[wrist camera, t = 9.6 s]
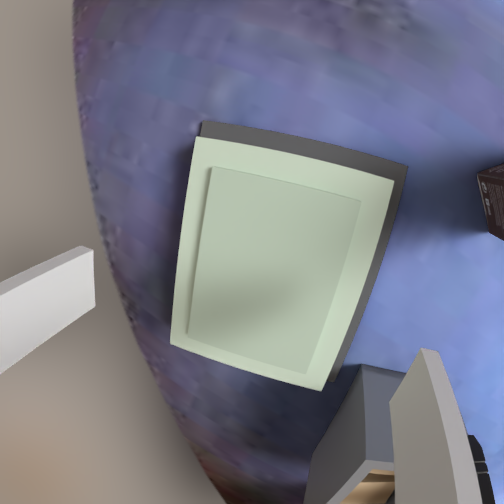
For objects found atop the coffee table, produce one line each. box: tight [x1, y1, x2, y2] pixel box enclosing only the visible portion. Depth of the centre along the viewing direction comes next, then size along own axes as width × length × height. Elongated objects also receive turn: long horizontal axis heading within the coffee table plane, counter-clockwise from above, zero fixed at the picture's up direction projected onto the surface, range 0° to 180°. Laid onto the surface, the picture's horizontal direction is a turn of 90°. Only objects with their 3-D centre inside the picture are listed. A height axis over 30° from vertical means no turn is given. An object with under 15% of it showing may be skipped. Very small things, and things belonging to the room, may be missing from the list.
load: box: [339, 469, 395, 504], centre depth 19 cm, size 10×5×5 cm, turn 168°
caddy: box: [303, 364, 468, 504], centre depth 18 cm, size 12×8×9 cm, turn 168°
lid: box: [170, 136, 394, 391], centre depth 19 cm, size 14×11×3 cm
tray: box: [200, 120, 408, 382], centre depth 20 cm, size 16×13×1 cm
